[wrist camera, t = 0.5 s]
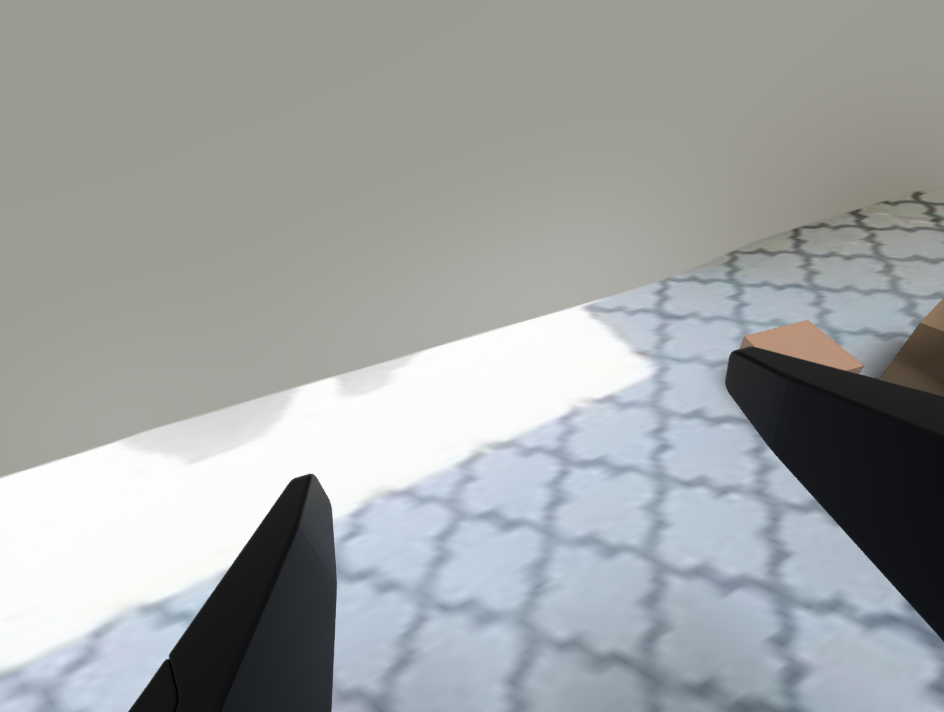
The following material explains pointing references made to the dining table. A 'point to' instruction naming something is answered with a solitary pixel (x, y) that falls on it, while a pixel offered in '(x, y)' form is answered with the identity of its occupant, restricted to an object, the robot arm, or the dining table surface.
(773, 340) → the terracotta cube
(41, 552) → the dining table surface
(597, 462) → the dining table surface
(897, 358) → the walnut cube
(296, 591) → the robot arm
